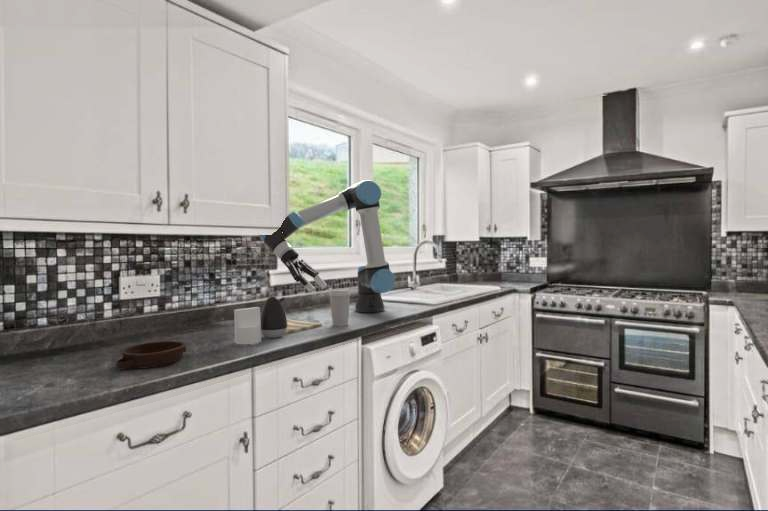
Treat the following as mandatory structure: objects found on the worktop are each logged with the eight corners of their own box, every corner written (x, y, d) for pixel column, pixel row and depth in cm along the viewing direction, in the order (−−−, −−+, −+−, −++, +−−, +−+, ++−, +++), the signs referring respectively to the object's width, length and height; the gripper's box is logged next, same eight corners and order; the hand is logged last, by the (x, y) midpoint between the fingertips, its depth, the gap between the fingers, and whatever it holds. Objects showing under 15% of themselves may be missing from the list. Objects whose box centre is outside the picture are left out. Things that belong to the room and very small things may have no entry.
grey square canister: (253, 338, 168) (252, 306, 168) (265, 341, 162) (265, 308, 161) (230, 342, 162) (229, 308, 162) (242, 346, 155) (241, 311, 155)
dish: (205, 357, 142) (204, 341, 142) (140, 376, 122) (139, 357, 122) (166, 352, 149) (166, 337, 149) (99, 369, 129) (99, 352, 129)
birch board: (289, 321, 203) (289, 319, 203) (322, 325, 191) (322, 323, 191) (252, 329, 187) (252, 326, 187) (286, 334, 175) (286, 331, 175)
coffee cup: (353, 322, 198) (352, 288, 197) (349, 326, 188) (348, 290, 188) (331, 322, 199) (331, 288, 198) (326, 326, 189) (326, 290, 189)
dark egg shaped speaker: (293, 336, 170) (292, 296, 170) (269, 341, 163) (268, 298, 162) (278, 333, 177) (277, 294, 177) (254, 337, 170) (253, 296, 169)
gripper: (294, 259, 212) (324, 291, 208) (266, 261, 188) (300, 298, 184) (304, 247, 210) (335, 280, 206) (277, 248, 186) (312, 285, 182)
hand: (318, 288), depth 195 cm, fingers open, 13 cm apart
